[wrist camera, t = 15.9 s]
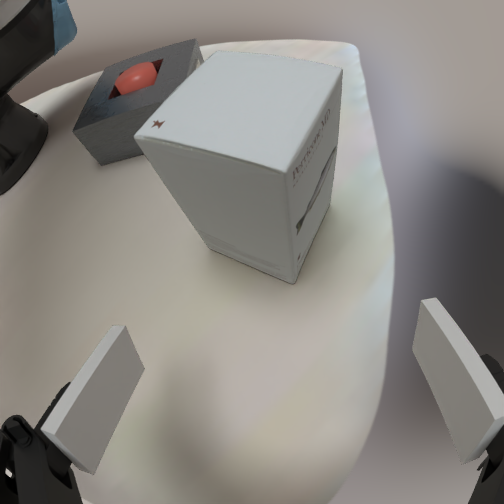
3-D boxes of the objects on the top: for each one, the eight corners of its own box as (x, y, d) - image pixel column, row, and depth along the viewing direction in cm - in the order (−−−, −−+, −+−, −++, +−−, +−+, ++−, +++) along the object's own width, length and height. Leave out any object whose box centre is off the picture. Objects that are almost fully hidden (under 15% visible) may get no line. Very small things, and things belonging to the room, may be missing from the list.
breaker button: (130, 124, 29) (109, 92, 24) (138, 100, 30) (121, 69, 26) (165, 114, 28) (148, 79, 23) (171, 90, 30) (156, 57, 25)
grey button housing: (100, 165, 29) (72, 131, 24) (124, 99, 34) (105, 67, 28) (203, 141, 27) (184, 95, 22) (210, 76, 32) (197, 38, 27)
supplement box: (295, 288, 21) (284, 179, 9) (206, 248, 23) (125, 135, 11) (333, 204, 23) (347, 65, 11) (250, 175, 25) (213, 46, 13)
